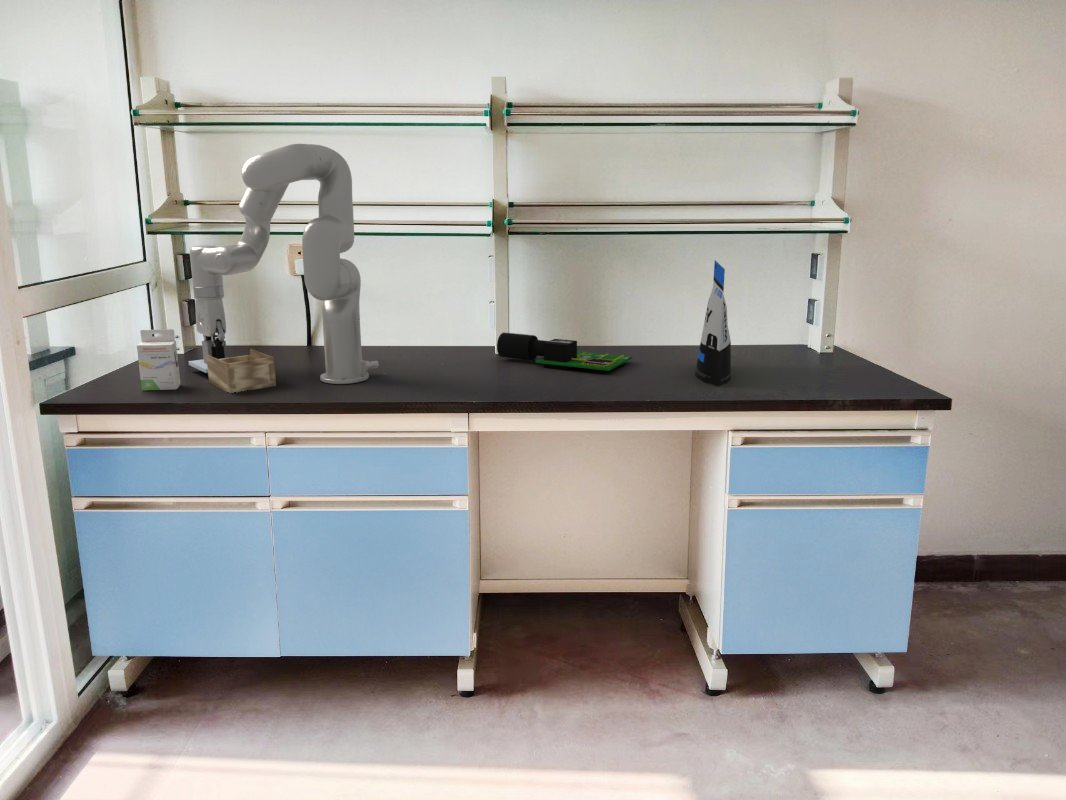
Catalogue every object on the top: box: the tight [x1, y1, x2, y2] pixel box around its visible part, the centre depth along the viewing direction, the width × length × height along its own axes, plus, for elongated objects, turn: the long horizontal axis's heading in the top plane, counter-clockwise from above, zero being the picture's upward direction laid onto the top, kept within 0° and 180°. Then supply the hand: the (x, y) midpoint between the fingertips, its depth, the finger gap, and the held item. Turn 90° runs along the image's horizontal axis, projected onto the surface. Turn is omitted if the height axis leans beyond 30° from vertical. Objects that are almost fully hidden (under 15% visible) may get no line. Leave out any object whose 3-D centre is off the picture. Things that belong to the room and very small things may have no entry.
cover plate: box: [187, 338, 229, 374], centre depth 226 cm, size 10×13×7 cm
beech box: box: [206, 348, 277, 394], centre depth 213 cm, size 12×14×8 cm
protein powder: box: [694, 260, 732, 388], centre depth 220 cm, size 10×24×30 cm, turn 174°
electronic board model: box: [496, 331, 633, 372], centre depth 238 cm, size 36×8×18 cm
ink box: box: [136, 328, 181, 391], centre depth 209 cm, size 9×5×15 cm, turn 101°
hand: (215, 358), depth 226 cm, fingers closed on cover plate, 4 cm apart
